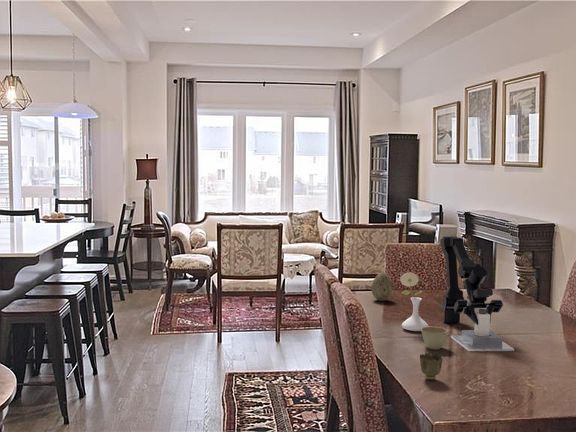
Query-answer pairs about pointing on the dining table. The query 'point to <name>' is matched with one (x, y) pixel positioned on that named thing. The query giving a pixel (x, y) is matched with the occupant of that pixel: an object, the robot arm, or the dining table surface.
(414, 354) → the dining table surface
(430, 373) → the cup
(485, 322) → the plug
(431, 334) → the flower pot
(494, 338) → the grey square frame
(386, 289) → the decorative egg
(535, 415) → the dining table surface
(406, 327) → the flower in vase
